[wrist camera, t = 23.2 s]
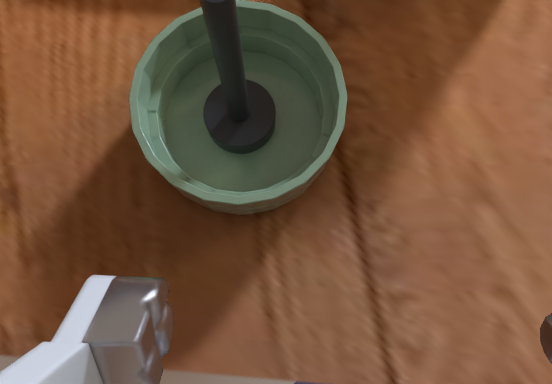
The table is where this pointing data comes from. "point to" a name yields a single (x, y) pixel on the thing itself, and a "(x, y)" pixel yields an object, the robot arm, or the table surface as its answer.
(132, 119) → the bowl
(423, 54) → the table surface
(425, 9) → the table surface
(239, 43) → the dark post stand
